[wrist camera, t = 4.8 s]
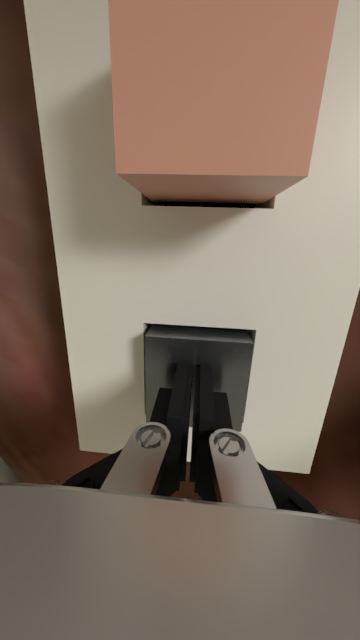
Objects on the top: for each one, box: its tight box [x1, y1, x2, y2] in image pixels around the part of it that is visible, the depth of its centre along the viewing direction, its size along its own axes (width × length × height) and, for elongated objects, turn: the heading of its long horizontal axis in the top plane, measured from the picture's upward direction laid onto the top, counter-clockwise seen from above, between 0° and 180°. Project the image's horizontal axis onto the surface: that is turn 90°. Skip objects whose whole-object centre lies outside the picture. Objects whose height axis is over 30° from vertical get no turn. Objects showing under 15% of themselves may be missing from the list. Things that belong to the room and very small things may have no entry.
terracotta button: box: [108, 0, 339, 204], centre depth 8 cm, size 5×5×5 cm
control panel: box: [23, 0, 360, 474], centre depth 11 cm, size 14×34×4 cm, turn 178°
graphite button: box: [145, 324, 253, 432], centre depth 14 cm, size 5×5×5 cm
